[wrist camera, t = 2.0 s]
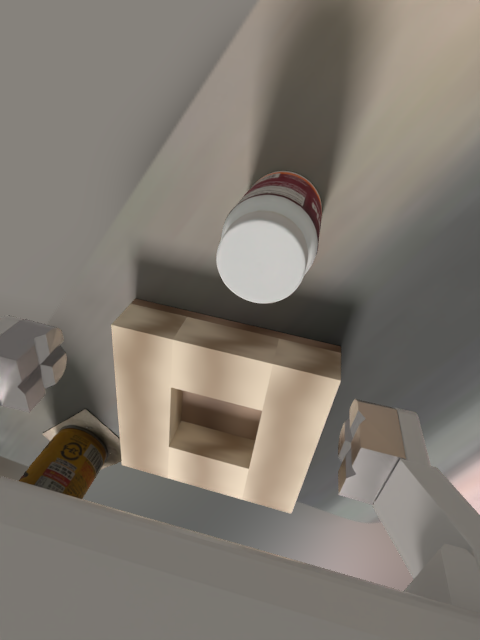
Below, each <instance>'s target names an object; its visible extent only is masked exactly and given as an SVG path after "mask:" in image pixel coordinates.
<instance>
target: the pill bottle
mask: <svg viewBox="0 0 480 640" xmlns="http://www.w3.org/2000/svg"><path fill="white" fill-rule="evenodd" d="M321 216H322V204H321V199H320V196H319V194H318V192H317V190H316V188H315V187H314V186H313V184H312V183H311V182H310V181H309V180H307V179H306V178H305V177H303V176H301V175H299V174H297V173H294V172H290V171H277V172H273V173H270V174H267V175H265V176H264V177H262V178H260V179H259V180H258V181H257V182H256V183H255V184H254V185H253V186H252V187H251V188H250V190H249V191H248V192H247V193H246V194H245V195H244V197H243V198H242V199H241V200H240V201H239V203H238V204H237V205H236V206H235V207H234V208H233V209H232V210H231V212H230V213H229V215H228V216H227V218H226V220H225V223H224V226H223V230H222V236H221V241H220V243H219V246H218V249H217V256H216V262H217V268H218V271H219V274H220V276H221V278H222V280H223V282H224V283H225V285H226V286H227V287H228V288H229V289H230V290H231V291H232V292H233V293H235V294H236V295H237V296H239V297H241V298H243V299H245V300H247V301H251V302H255V303H273V302H277V301H280V300H282V299H284V298H286V297H288V296H289V295H291V294H292V293H293V292H294V291H295V290H296V289H297V288H298V286H299V285H300V283H301V282H302V280H303V277H304V275H305V274H306V273H307V271H308V270H309V269H310V267H311V266H312V264H313V262H314V259H315V256H316V254H317V251H318V241H319V233H320V226H321Z"/></svg>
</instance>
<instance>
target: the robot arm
mask: <svg viewBox="0 0 480 640" xmlns="http://www.w3.org/2000/svg"><path fill="white" fill-rule="evenodd" d="M63 341H64V339H63V334H62V330H60V329H59V328H57V327H53V326H49V325H46V324H42V323H38V322H34V321H30V320H27V319H21V318H17V317H14V316H10V315H9V316H3V317H2V318H0V406H4V407H8V408H12V409H16V410H21V411H25V412H29V413H30V412H31V410H32V409H33V408H34V407H35V406H36V405H37V404H38V403H39V402H40V401H41V400H42V398H43V397H44V396H45V388H48V387H50V386H52V385H55V384H56V383H57V382H58V381H59V379H60V378H61V377H62V375H63V373H64V371H65V368H66V363H67V357H66V352H65V351H64V350H63V349H62V347H61V346H60V344H61V343H62V342H63ZM338 457H339V458H340V460H341V461H342V464H341V466H340V469H339V471H338V481H339V495H341V496H344V497H348V498H351V499H355V500H358V501H361V502H365V503H368V504H372V505H373V508H374V510H375V512H376V513H377V515H378V517H379V519H380V520H381V522H382V524H383V526H384V527H385V529H386V531H387V533H388V535H389V537H390V538H391V540H392V542H393V544H394V545H395V547H396V549H397V551H398V552H399V554H400V556H401V558H402V559H403V561H404V563H405V565H406V567H407V569H408V570H409V572H410V574H411V576H412V577H413V579H414V580H413V581H412V582H411V583H410V584H409V585H408V587H407V588H406V589H405V590H404V591H401V590H397V589H394V588H390V587H387V586H383V585H380V584H376V583H373V582H369V581H366V580H362V579H359V578H355V577H352V576H348V575H345V574H341V573H338V572H335V571H331V570H328V569H324V568H320V567H317V566H313V565H310V564H307V563H303V562H299V561H296V560H292V559H289V558H286V557H282V556H278V555H275V554H272V553H268V552H265V551H261V550H258V549H254V548H251V547H247V546H244V545H240V544H237V543H233V542H230V541H226V540H222V539H219V538H215V537H212V536H209V535H205V534H202V533H198V532H195V531H191V530H187V529H184V528H180V527H177V526H174V525H170V524H167V523H163V522H159V521H156V520H152V519H149V518H146V517H142V516H139V515H135V514H132V513H128V512H125V511H121V510H118V509H114V508H111V507H107V506H104V505H100V504H97V503H93V502H90V501H86V500H83V499H79V498H76V497H72V496H69V495H65V494H62V493H58V492H55V491H52V490H48V489H45V488H41V487H38V486H34V485H31V484H27V483H24V482H20V481H16V480H13V479H10V478H6V477H3V476H0V640H480V515H479V514H478V513H477V512H476V510H475V509H474V508H473V507H472V506H471V505H470V504H469V503H468V502H467V500H466V499H465V498H464V497H463V496H462V495H461V494H460V493H459V492H458V490H457V489H456V488H455V487H454V486H453V485H452V484H451V483H450V482H449V480H448V479H447V478H446V477H445V476H444V475H443V474H442V473H441V472H440V470H439V469H438V468H436V467H432V466H431V465H430V461H429V457H428V453H427V449H426V445H425V441H424V437H423V433H422V430H421V426H420V422H419V418H418V415H417V414H416V413H415V412H412V411H407V410H403V409H398V408H392V407H388V406H384V405H379V404H375V403H371V402H366V401H362V400H358V399H355V400H354V401H353V403H352V405H351V407H350V419H348V420H346V421H345V422H344V424H343V427H342V430H341V434H340V438H339V446H338Z"/></svg>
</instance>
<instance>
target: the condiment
mask: <svg viewBox="0 0 480 640" xmlns="http://www.w3.org/2000/svg"><path fill="white" fill-rule="evenodd" d="M86 427H88V428H86ZM89 427H91V428H92V429H90V428H89ZM42 435H44V436H45V437H46V438H47V439H49V440H50V442H49V443H48V445H47V446H46V447H45V449H44V450H43V451H42V452H41V454H40V455H39V456H38V457H37V458H36V459H35V461H34V462H33V463H32V464H31V465H30V467H29V469H28V470H27V471H26V472H25V473H24V475H23V476H22V477H21V479H20V480H19V481H20V482H24V483H27V484H31V485H34V486H38V487H41V488H45V489H48V490H52V491H55V492H58V493H62V494H65V495H69V496H72V497H76V498H79V499H82V498H83V496H84V495H85V493H86V492H87V490H88V489H89V487H90V485H91V484H92V482H93V481H94V479H95V478H96V476H97V474H98V473H99V471H100V470H101V469H103V468H105V467H108V466H111V465H113V464H117V463H118V462H121V461H122V459H121V446H120V439H119V438H118V437H117V436H116V435H114V434H113V433H112V432H111V431H110V430H109V429H108V427H106V426H104V425H103V424H102V423H101V422H99V420H98V419H97V418H96V417H94V416H93V415H92V414H90V413H89V412H88V411H87V410H86V409H85V410H83V411H81V412H80V413H78V414H76V415H75V416H73V417H71V418H69V419H67V420H66V421H64V422H62V423H60V424H58V425H57V426H55V427H53V428H51V429H50V430H48V431H46V432H45V433H43V434H42Z"/></svg>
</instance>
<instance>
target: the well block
mask: <svg viewBox="0 0 480 640" xmlns="http://www.w3.org/2000/svg"><path fill="white" fill-rule="evenodd" d="M111 328H112V341H113V354H114V367H115V380H116V394H117V407H118V420H119V433H120V446H121V459H122V465H124V466H127V467H131V468H134V469H138V470H141V471H145V472H148V473H152V474H155V475H159V476H162V477H166V478H169V479H173V480H176V481H179V482H183V483H187V484H190V485H194V486H197V487H201V488H204V489H207V490H211V491H214V492H218V493H222V494H225V495H228V496H232V497H236V498H239V499H242V500H246V501H250V502H253V503H256V504H260V505H263V506H267V507H270V508H273V509H277V510H280V511H284V512H287V513H292V511H293V508H294V505H295V503H296V500H297V497H298V495H299V492H300V489H301V487H302V484H303V481H304V478H305V476H306V473H307V470H308V468H309V465H310V462H311V460H312V457H313V454H314V452H315V449H316V446H317V444H318V441H319V438H320V435H321V433H322V430H323V427H324V425H325V422H326V419H327V417H328V414H329V411H330V409H331V406H332V403H333V400H334V398H335V395H336V392H337V390H338V387H339V384H340V382H341V346H337V345H332V344H328V343H324V342H320V341H315V340H311V339H307V338H303V337H298V336H294V335H290V334H285V333H281V332H277V331H273V330H268V329H264V328H260V327H255V326H251V325H247V324H243V323H238V322H234V321H230V320H225V319H221V318H217V317H213V316H208V315H204V314H200V313H195V312H191V311H187V310H183V309H178V308H174V307H170V306H165V305H161V304H157V303H153V302H148V301H144V300H140V299H135V300H134V301H133V302H132V303H131V304H130V305H129V306H128V307H127V308H126V309H125V310H124V311H123V313H122V314H121V315H120V316H119V317H118V318H117V319H116V320H115V321H114V322H113V323H112V324H111Z"/></svg>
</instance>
